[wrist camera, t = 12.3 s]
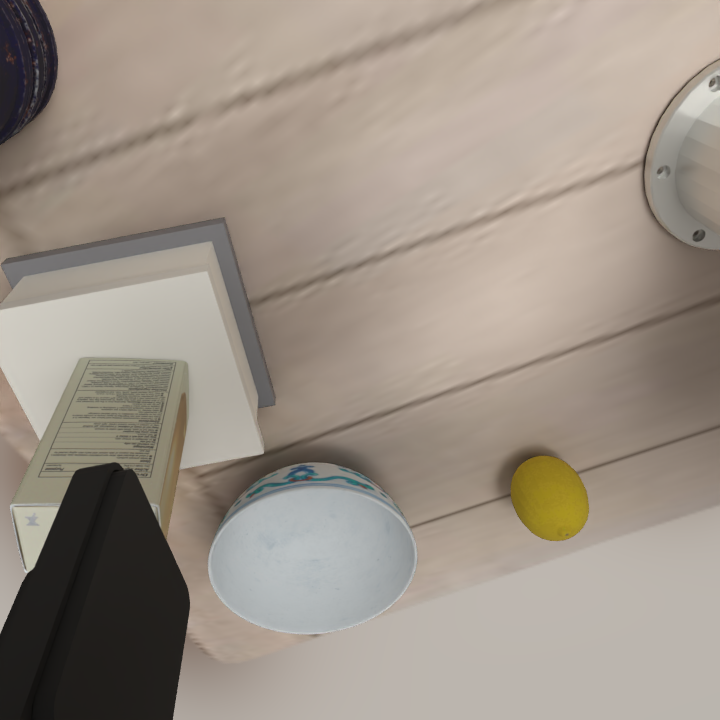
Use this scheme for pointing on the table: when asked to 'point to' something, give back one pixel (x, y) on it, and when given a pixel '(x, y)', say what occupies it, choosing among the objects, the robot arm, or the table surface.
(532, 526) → the lemon
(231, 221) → the table surface
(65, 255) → the display podium
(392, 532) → the chinaware
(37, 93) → the dark blue barrel
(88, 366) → the skincare box
